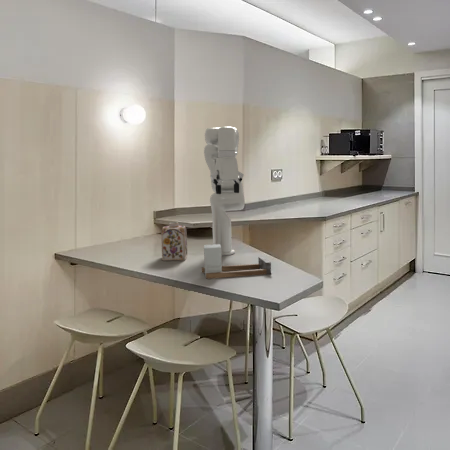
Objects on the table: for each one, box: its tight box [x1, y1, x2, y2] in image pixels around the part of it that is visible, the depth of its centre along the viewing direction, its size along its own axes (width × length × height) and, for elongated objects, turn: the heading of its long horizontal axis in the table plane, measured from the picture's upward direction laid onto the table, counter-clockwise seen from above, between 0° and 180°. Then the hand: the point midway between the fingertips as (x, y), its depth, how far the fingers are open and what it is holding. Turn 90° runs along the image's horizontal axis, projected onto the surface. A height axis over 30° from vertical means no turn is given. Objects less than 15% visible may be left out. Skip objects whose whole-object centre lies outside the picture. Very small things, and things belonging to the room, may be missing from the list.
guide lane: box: [201, 256, 272, 279], centre depth 216 cm, size 12×28×5 cm, turn 102°
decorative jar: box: [160, 221, 188, 262], centre depth 247 cm, size 12×12×18 cm
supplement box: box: [203, 244, 223, 278], centre depth 213 cm, size 7×7×13 cm
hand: (227, 193), depth 224 cm, fingers open, 9 cm apart
